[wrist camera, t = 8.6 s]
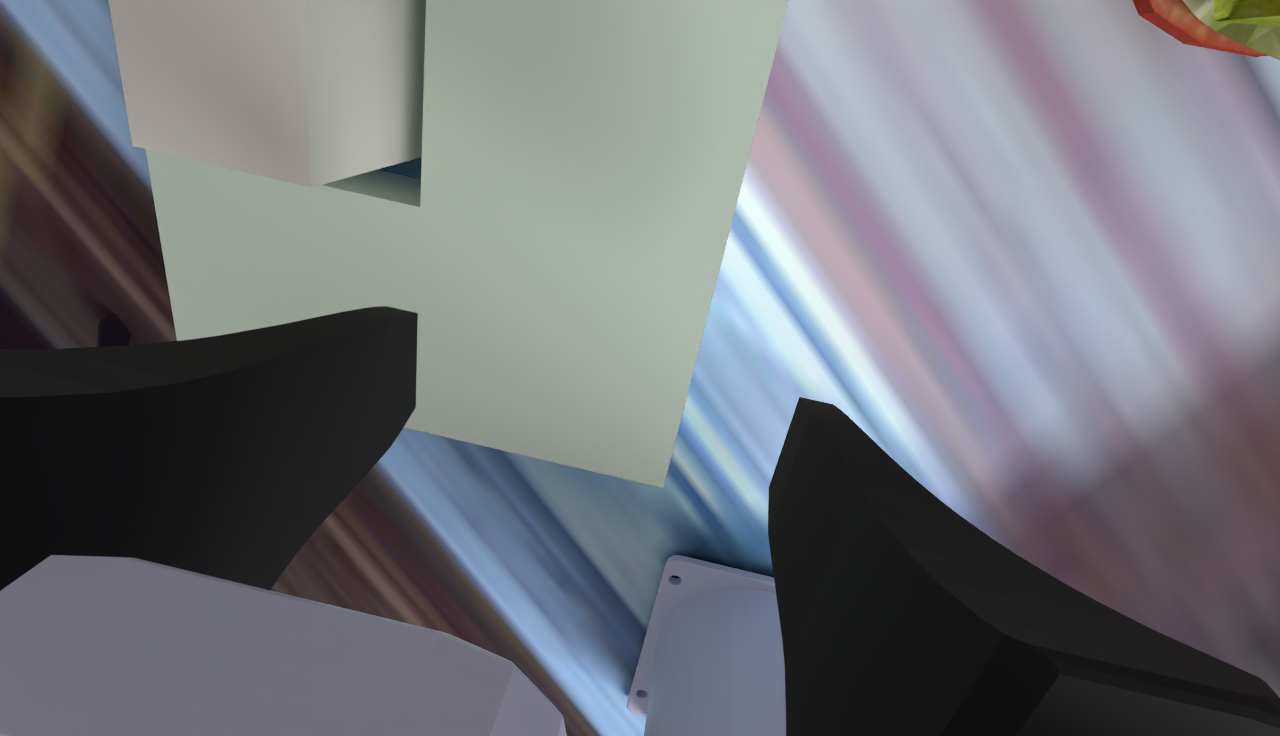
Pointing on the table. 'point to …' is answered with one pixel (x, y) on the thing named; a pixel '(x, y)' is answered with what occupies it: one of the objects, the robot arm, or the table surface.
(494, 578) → the table surface
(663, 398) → the pale green square slab
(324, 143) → the block
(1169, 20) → the food
